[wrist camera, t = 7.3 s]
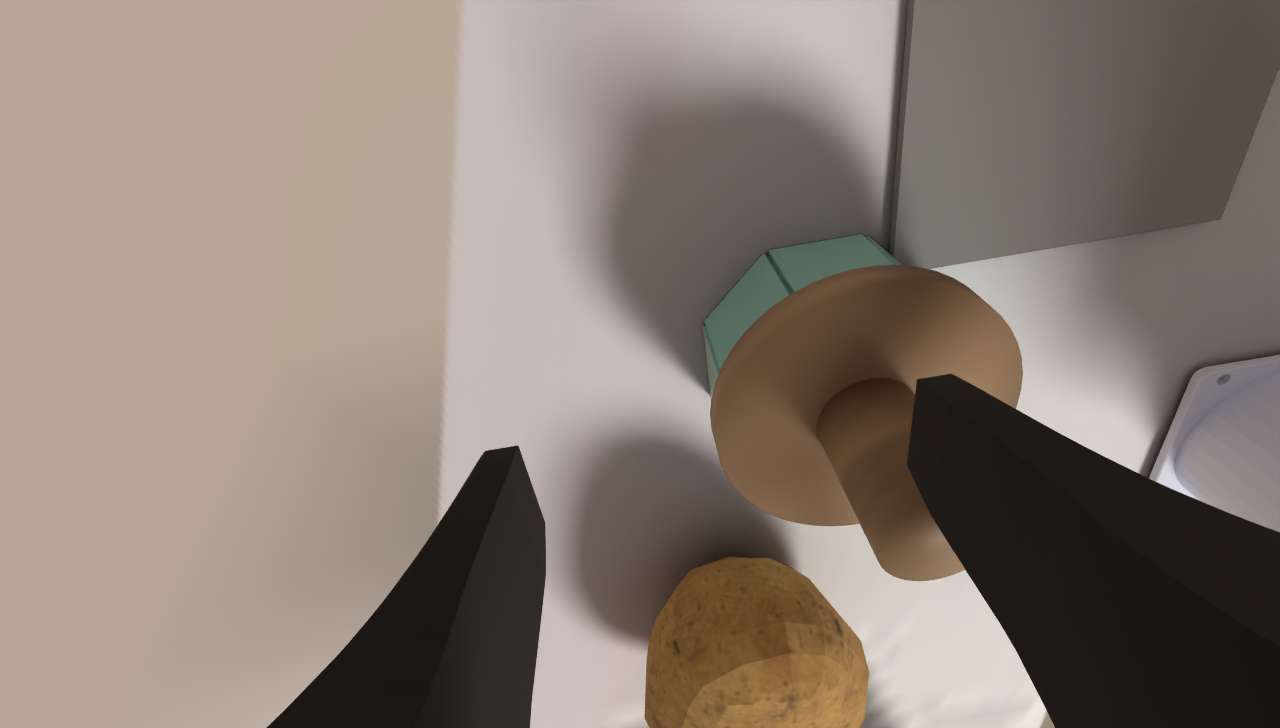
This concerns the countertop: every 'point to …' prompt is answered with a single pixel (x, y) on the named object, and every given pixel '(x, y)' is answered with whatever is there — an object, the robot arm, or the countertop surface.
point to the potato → (753, 653)
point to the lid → (855, 403)
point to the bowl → (781, 287)
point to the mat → (1072, 120)
